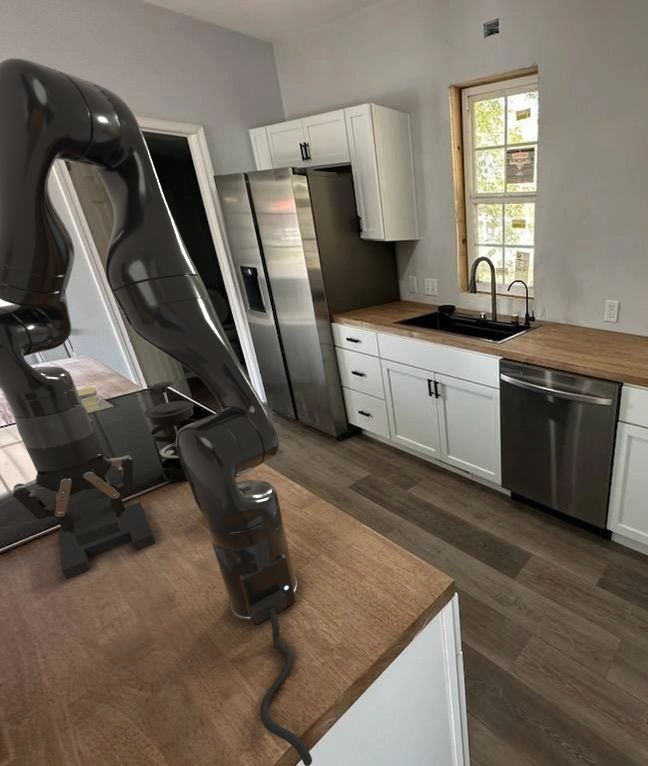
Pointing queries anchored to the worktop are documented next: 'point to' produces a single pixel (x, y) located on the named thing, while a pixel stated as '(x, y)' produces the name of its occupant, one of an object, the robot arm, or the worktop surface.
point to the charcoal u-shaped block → (105, 541)
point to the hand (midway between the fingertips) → (97, 521)
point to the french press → (169, 431)
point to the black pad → (94, 520)
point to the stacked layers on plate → (92, 400)
